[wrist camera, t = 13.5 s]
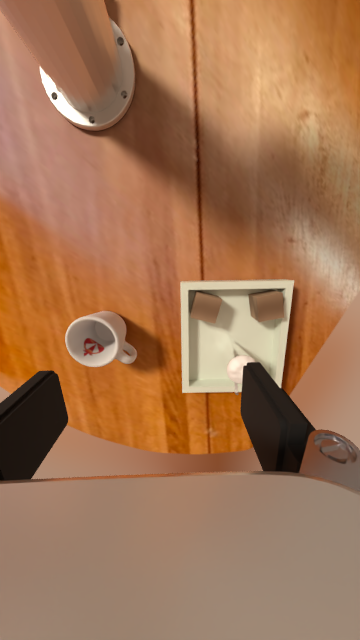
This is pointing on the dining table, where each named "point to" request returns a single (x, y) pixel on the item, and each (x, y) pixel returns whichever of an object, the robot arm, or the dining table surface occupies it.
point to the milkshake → (235, 361)
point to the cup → (99, 340)
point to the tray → (231, 333)
